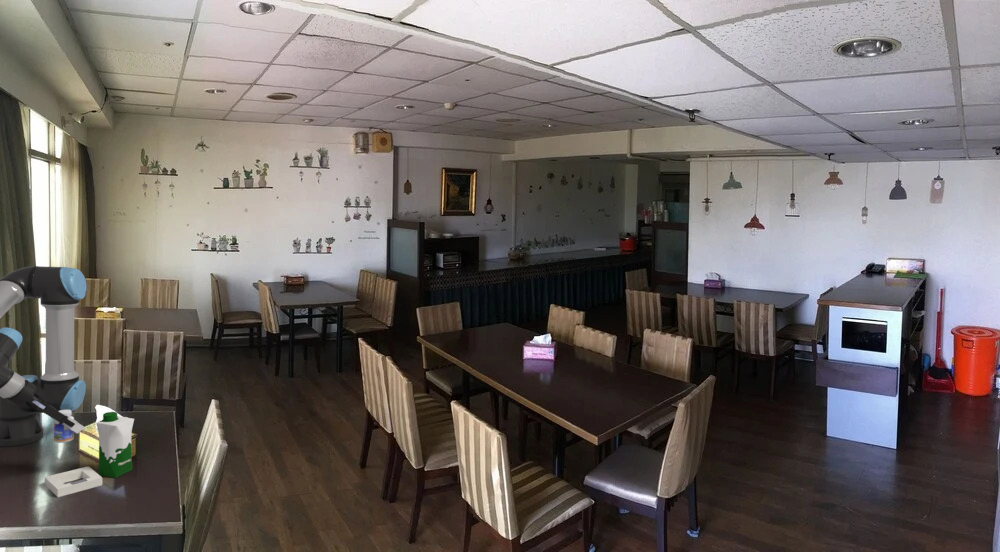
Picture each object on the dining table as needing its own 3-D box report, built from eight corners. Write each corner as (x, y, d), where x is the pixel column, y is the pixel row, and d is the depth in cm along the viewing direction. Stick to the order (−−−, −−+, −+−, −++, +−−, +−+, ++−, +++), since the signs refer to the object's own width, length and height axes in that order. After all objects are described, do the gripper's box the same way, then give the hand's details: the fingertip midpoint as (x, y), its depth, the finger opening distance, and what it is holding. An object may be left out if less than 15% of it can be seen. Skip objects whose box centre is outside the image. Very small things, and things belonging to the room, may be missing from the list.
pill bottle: (50, 440, 198) (49, 412, 197) (67, 435, 203) (66, 407, 202) (60, 444, 196) (60, 415, 195) (77, 439, 201) (77, 410, 200)
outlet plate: (44, 484, 191) (44, 476, 191) (88, 473, 201) (88, 465, 201) (57, 497, 184) (57, 488, 184) (102, 485, 194) (102, 477, 193)
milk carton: (114, 465, 208) (115, 408, 206) (137, 469, 206) (137, 412, 204) (92, 475, 200) (92, 416, 198) (116, 479, 198) (116, 420, 196)
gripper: (-4, 392, 191) (58, 429, 206) (13, 406, 180) (78, 445, 195) (16, 372, 195) (76, 411, 209) (35, 386, 184) (96, 425, 198)
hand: (77, 427), depth 202 cm, fingers closed on pill bottle, 5 cm apart
